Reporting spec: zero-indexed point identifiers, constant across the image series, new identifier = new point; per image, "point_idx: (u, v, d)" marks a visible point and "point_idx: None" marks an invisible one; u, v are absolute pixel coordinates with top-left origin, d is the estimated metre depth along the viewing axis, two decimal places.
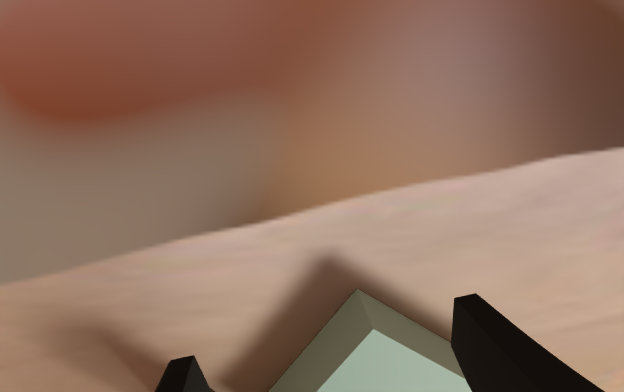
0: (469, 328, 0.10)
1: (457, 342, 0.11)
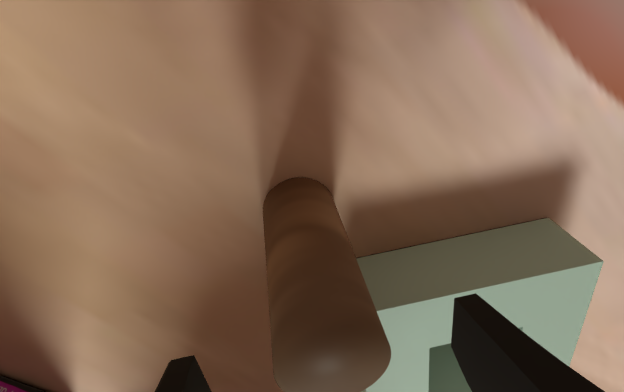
0: (469, 328, 0.10)
1: (457, 342, 0.11)
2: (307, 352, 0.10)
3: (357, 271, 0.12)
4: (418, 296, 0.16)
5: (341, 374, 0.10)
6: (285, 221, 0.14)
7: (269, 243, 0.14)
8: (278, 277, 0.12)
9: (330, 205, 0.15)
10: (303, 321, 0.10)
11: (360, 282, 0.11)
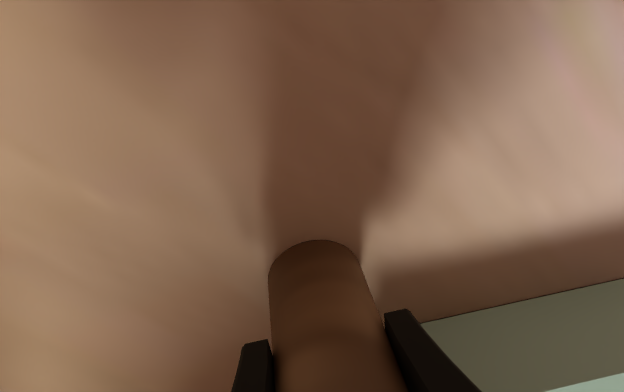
0: (395, 345, 0.09)
1: None
2: None
3: None
4: None
5: None
6: (301, 319, 0.10)
7: (278, 351, 0.10)
8: None
9: (361, 285, 0.11)
10: None
11: None
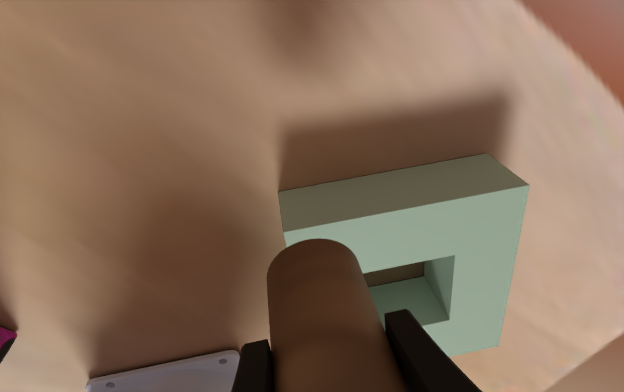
0: (395, 345, 0.09)
1: None
2: None
3: None
4: (346, 216, 0.16)
5: None
6: (298, 317, 0.10)
7: (276, 349, 0.10)
8: None
9: (359, 283, 0.11)
10: None
11: None
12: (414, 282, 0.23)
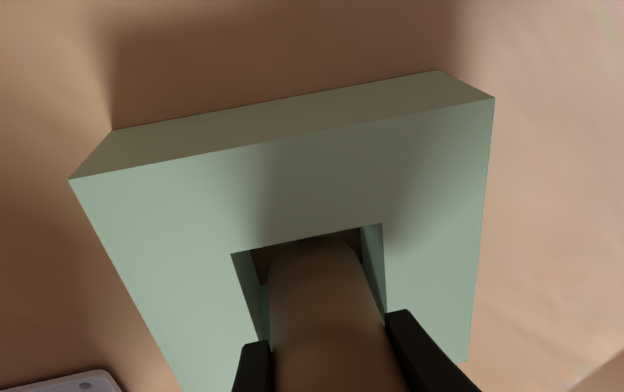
0: (394, 345, 0.09)
1: None
2: None
3: None
4: (182, 154, 0.10)
5: None
6: (296, 317, 0.10)
7: (276, 350, 0.10)
8: None
9: (357, 280, 0.11)
10: None
11: None
12: None
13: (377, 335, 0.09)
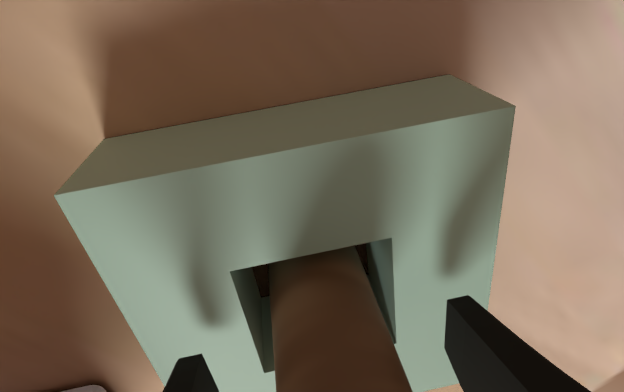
0: (461, 330, 0.10)
1: (450, 344, 0.11)
2: None
3: (384, 333, 0.09)
4: (178, 166, 0.09)
5: None
6: (290, 265, 0.11)
7: (273, 293, 0.11)
8: (284, 347, 0.09)
9: None
10: None
11: (388, 351, 0.09)
12: None
13: (358, 279, 0.11)
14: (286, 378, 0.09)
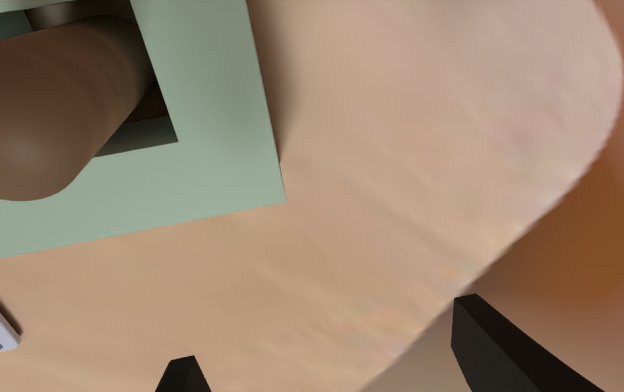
0: (469, 328, 0.10)
1: (457, 342, 0.11)
2: None
3: (86, 56, 0.09)
4: None
5: (20, 153, 0.08)
6: None
7: None
8: None
9: (120, 31, 0.13)
10: None
11: (71, 57, 0.09)
12: None
13: (101, 40, 0.11)
14: None
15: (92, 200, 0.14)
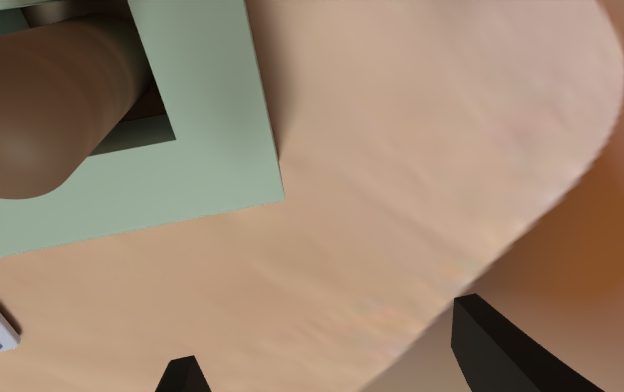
0: (469, 328, 0.10)
1: (457, 342, 0.11)
2: None
3: (81, 53, 0.09)
4: None
5: (14, 150, 0.08)
6: None
7: None
8: None
9: (117, 28, 0.13)
10: None
11: (66, 54, 0.09)
12: None
13: (97, 37, 0.11)
14: None
15: (90, 199, 0.14)
